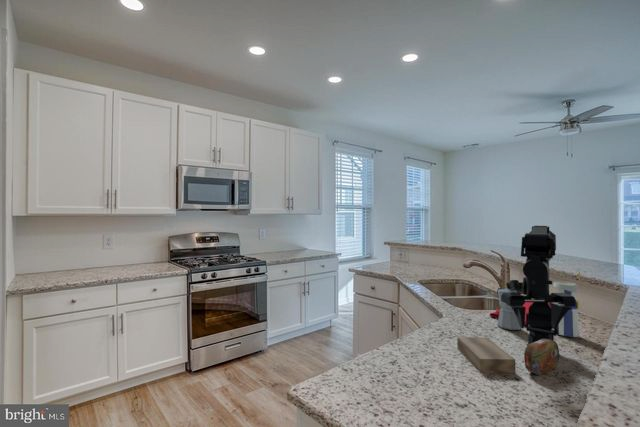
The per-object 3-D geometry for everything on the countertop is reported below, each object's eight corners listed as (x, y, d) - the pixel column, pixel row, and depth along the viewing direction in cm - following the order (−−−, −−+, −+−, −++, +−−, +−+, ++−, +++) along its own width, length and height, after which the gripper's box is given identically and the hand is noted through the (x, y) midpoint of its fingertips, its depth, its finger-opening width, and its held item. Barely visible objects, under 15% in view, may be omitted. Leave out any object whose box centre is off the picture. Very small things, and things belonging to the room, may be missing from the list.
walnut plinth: (487, 349, 111) (487, 337, 111) (515, 373, 94) (515, 359, 94) (457, 348, 111) (457, 337, 111) (480, 372, 94) (480, 358, 94)
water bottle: (577, 331, 128) (576, 267, 128) (583, 338, 120) (582, 271, 121) (551, 328, 132) (551, 266, 132) (555, 334, 124) (555, 269, 124)
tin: (533, 378, 91) (533, 348, 91) (521, 374, 94) (521, 344, 94) (560, 366, 98) (560, 338, 98) (549, 362, 101) (548, 335, 101)
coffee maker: (529, 332, 127) (529, 286, 127) (507, 332, 127) (506, 286, 127) (508, 320, 142) (508, 278, 142) (488, 319, 142) (488, 278, 142)
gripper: (551, 271, 104) (552, 320, 104) (492, 270, 105) (492, 319, 105) (577, 277, 93) (578, 332, 93) (510, 277, 94) (511, 331, 94)
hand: (537, 328), depth 97 cm, fingers open, 9 cm apart
